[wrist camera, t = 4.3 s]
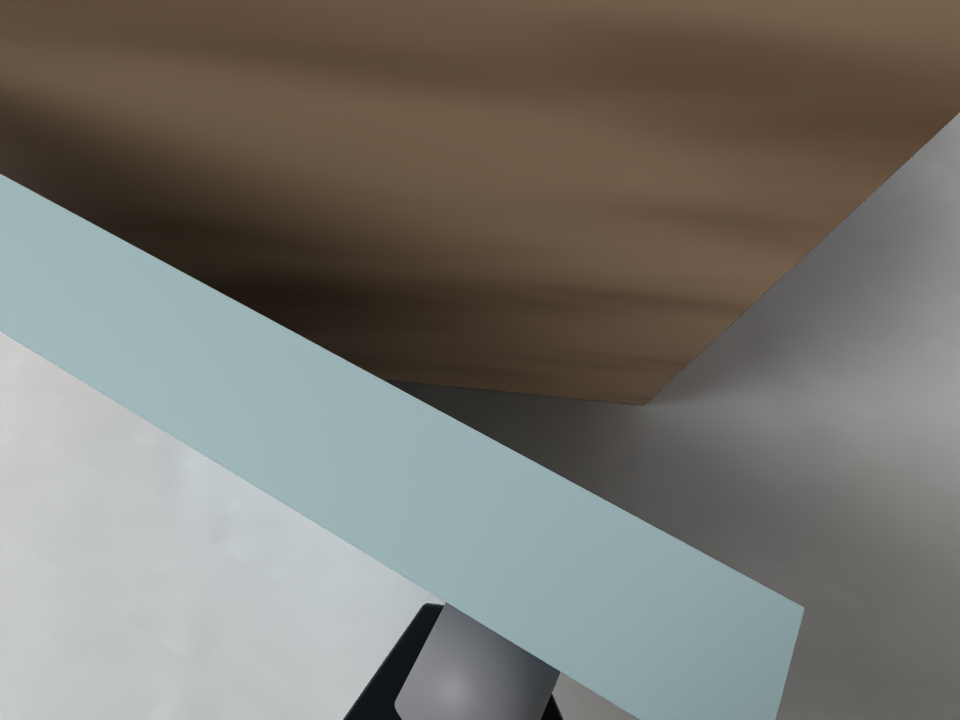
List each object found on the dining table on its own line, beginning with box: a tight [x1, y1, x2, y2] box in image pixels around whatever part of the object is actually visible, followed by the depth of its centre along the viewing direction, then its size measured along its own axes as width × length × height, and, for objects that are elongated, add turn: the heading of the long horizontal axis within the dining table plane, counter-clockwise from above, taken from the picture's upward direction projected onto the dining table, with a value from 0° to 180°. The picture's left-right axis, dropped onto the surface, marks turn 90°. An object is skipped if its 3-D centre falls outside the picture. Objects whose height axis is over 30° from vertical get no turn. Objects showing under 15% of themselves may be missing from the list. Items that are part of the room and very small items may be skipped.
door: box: [0, 174, 805, 720], centre depth 10 cm, size 15×2×13 cm, turn 61°
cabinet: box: [0, 0, 960, 405], centre depth 13 cm, size 7×18×15 cm, turn 85°
